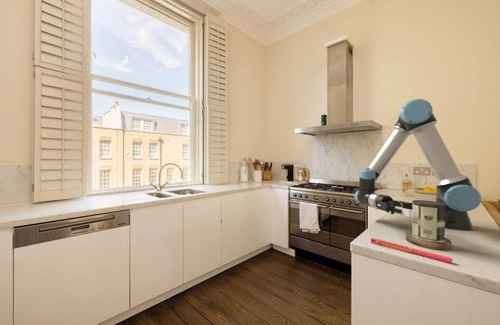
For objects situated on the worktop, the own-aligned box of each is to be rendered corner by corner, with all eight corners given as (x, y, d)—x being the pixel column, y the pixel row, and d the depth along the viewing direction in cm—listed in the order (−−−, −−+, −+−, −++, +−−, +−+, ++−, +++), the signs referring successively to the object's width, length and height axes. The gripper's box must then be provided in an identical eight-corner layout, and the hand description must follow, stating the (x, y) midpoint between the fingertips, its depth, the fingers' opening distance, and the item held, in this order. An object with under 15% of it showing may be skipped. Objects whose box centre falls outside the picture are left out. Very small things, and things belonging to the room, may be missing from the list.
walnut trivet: (427, 235, 95) (427, 231, 95) (462, 249, 81) (462, 244, 81) (397, 236, 93) (397, 232, 93) (427, 250, 79) (428, 245, 79)
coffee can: (434, 234, 91) (435, 200, 91) (451, 243, 81) (452, 205, 81) (406, 232, 93) (407, 199, 93) (419, 241, 83) (420, 204, 83)
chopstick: (373, 243, 89) (369, 242, 86) (373, 238, 89) (369, 237, 86) (453, 265, 71) (452, 265, 68) (454, 258, 72) (453, 258, 69)
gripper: (401, 208, 112) (447, 220, 91) (359, 210, 106) (398, 223, 86) (402, 193, 112) (448, 202, 91) (359, 195, 106) (398, 204, 85)
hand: (423, 212), depth 88 cm, fingers open, 13 cm apart
